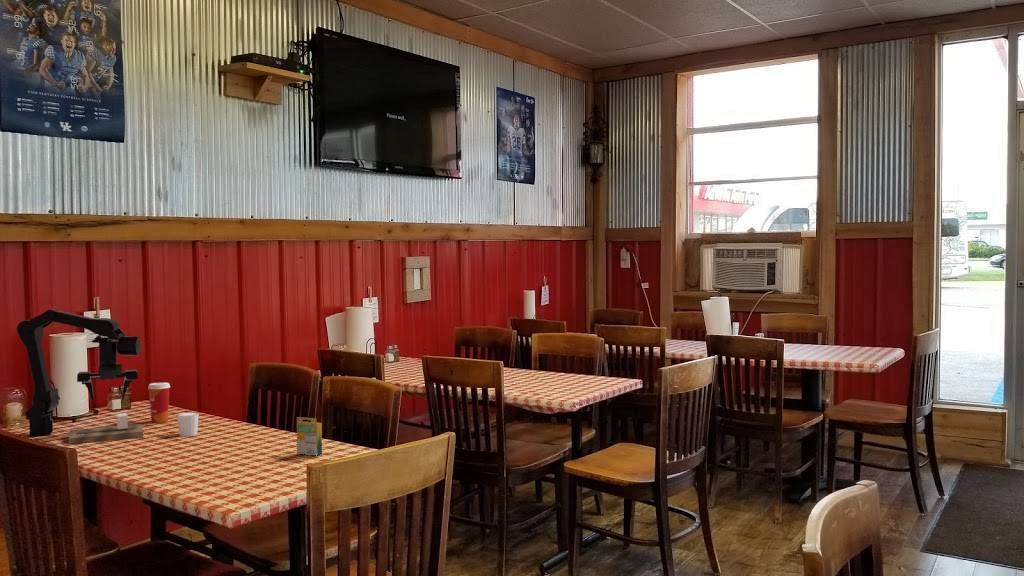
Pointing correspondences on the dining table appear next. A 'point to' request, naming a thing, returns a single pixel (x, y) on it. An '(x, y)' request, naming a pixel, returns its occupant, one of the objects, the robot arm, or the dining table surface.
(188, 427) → the white tapered cup
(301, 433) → the crayon box
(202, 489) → the dining table surface
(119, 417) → the fader tab
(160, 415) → the paper cup
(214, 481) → the dining table surface
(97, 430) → the fader console
